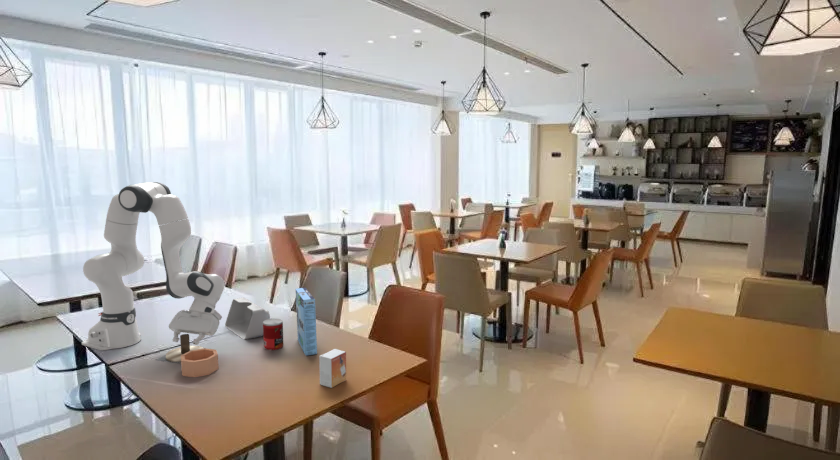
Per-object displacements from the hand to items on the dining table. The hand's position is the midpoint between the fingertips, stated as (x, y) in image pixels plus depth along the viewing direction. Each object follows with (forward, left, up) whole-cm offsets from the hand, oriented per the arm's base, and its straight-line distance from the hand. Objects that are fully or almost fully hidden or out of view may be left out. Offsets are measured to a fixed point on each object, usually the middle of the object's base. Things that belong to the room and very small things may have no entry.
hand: (184, 342), depth 190 cm
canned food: (+28, +18, -6) cm, 34 cm away
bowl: (+15, -10, -5) cm, 19 cm away
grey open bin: (+6, +34, -6) cm, 35 cm away
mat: (0, 0, -5) cm, 5 cm away
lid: (0, 0, -5) cm, 5 cm away
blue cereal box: (+41, +22, -6) cm, 47 cm away
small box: (+66, -5, -6) cm, 66 cm away
